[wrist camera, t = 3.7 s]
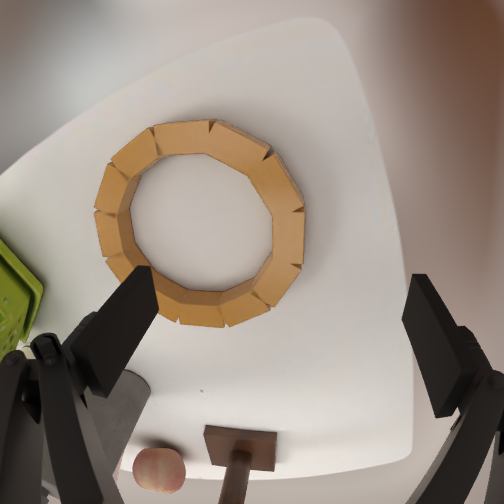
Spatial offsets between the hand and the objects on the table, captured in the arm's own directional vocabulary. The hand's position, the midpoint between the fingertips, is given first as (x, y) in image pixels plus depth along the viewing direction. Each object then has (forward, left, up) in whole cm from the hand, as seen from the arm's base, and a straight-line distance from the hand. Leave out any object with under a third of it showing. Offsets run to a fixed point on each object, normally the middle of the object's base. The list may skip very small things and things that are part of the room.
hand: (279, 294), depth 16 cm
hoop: (+7, 0, -10) cm, 12 cm away
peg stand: (+5, +31, -10) cm, 33 cm away
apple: (+17, +36, -10) cm, 41 cm away
